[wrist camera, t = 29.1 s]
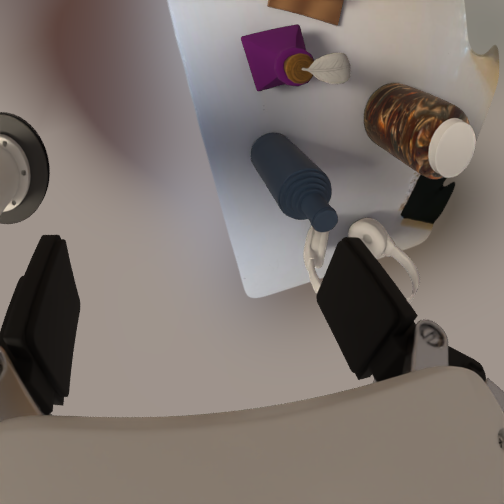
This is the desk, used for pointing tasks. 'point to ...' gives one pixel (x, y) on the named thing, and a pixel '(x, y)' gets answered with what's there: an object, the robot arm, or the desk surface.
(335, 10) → the coaster
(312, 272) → the headphones
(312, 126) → the desk surface
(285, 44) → the perfume bottle
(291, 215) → the water bottle
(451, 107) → the jar
